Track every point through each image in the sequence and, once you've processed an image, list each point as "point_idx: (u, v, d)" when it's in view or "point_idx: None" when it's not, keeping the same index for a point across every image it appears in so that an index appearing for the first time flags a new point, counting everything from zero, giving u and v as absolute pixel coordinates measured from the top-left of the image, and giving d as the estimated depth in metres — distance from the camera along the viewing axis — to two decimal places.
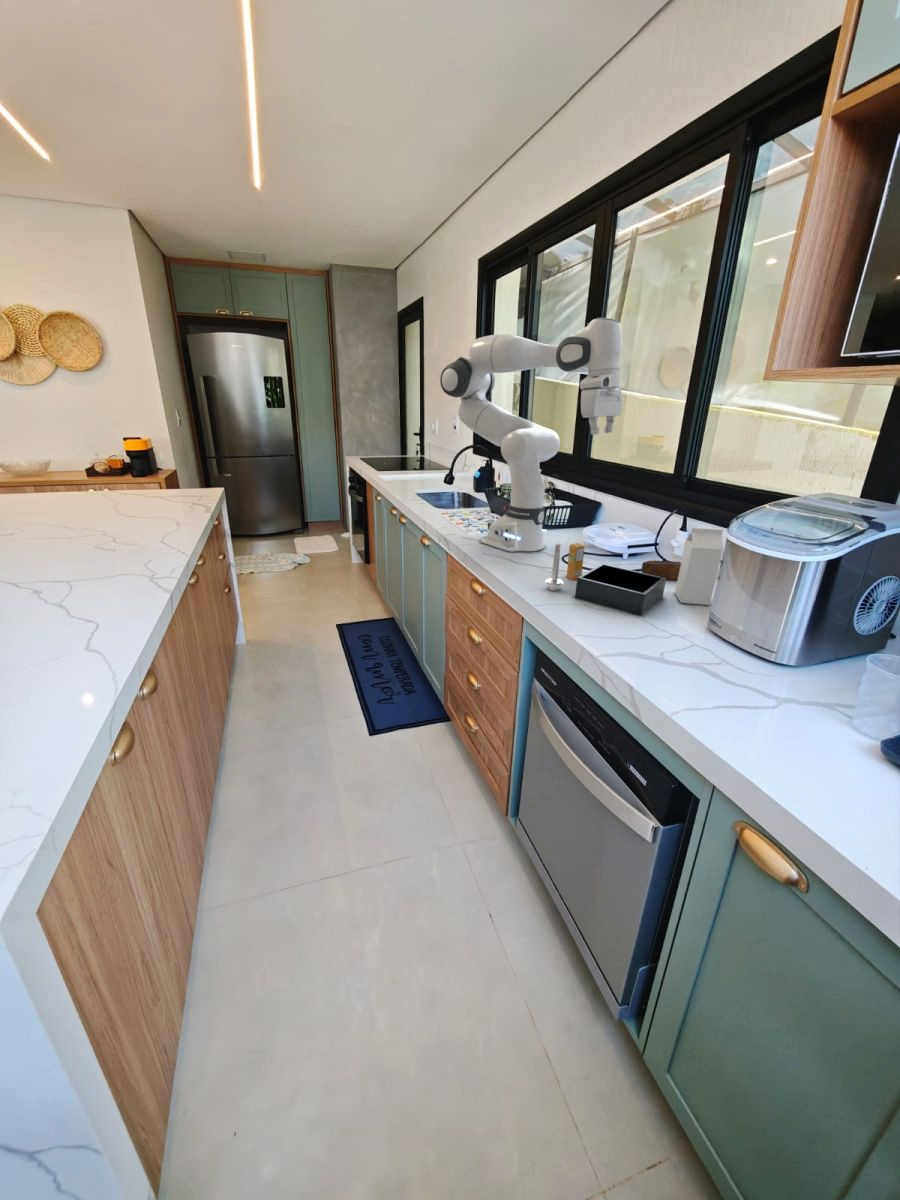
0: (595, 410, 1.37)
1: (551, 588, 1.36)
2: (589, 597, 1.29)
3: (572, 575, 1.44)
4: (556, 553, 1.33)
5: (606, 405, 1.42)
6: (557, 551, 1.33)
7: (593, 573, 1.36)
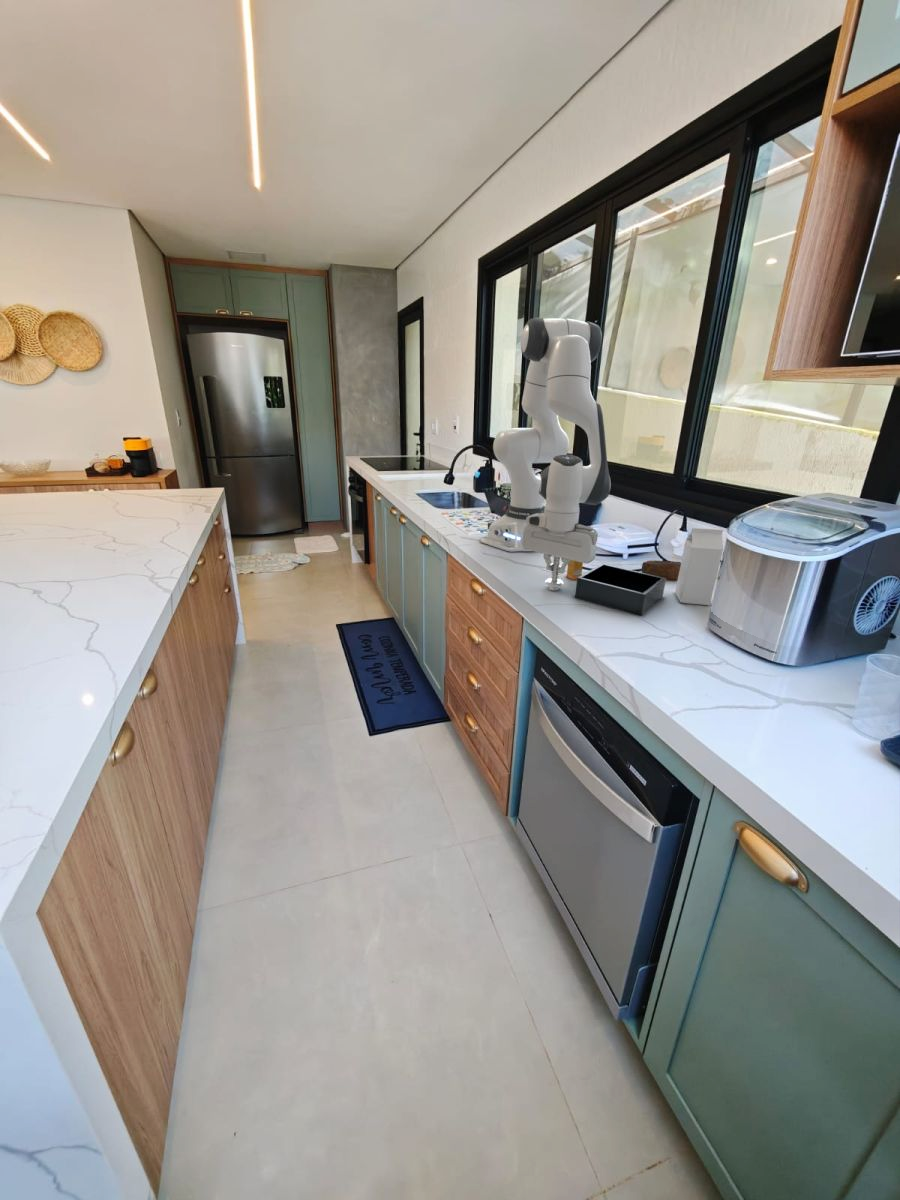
0: (524, 543, 1.37)
1: (551, 588, 1.36)
2: (589, 597, 1.29)
3: (572, 575, 1.44)
4: None
5: (549, 545, 1.32)
6: None
7: (593, 573, 1.36)
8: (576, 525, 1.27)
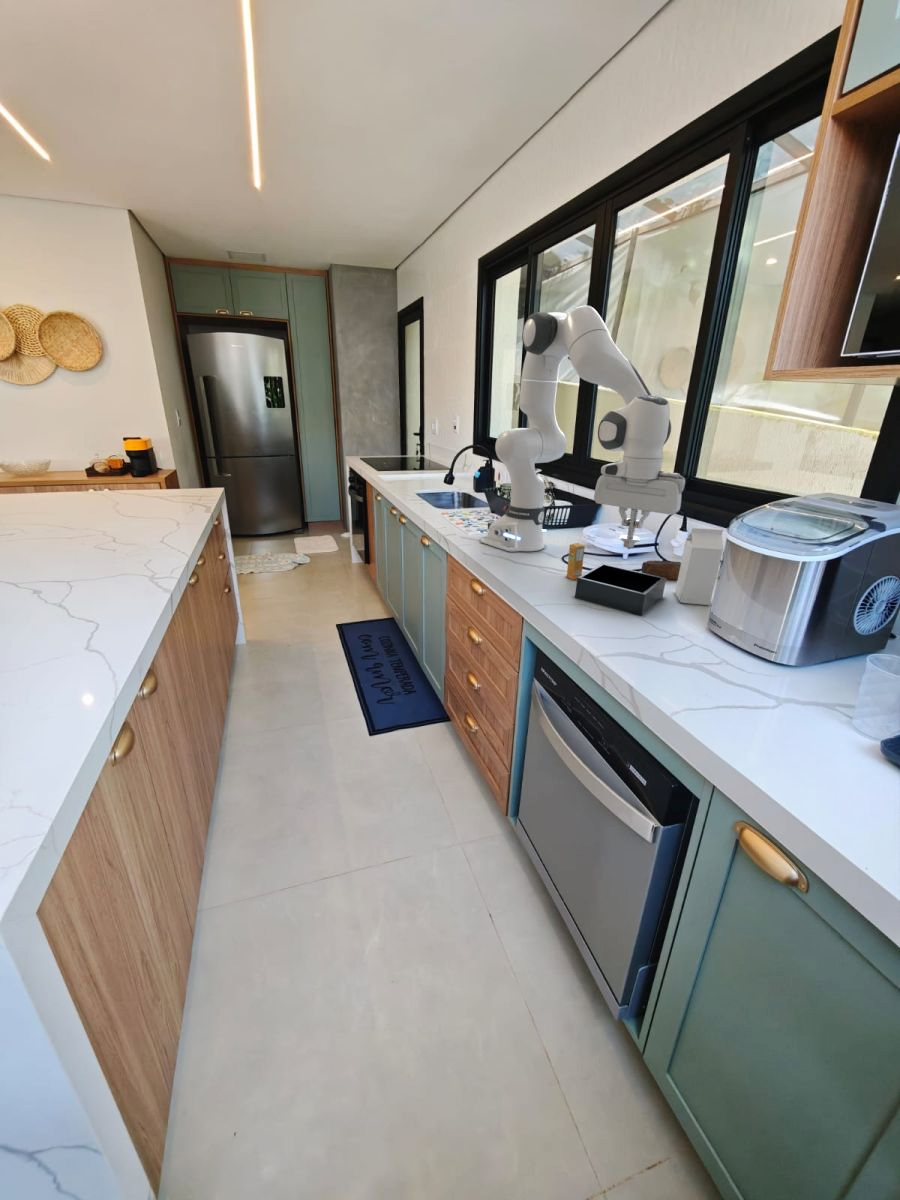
0: (597, 497, 1.26)
1: (626, 545, 1.25)
2: (589, 597, 1.29)
3: (572, 575, 1.44)
4: None
5: (627, 496, 1.21)
6: None
7: (593, 573, 1.36)
8: (660, 473, 1.16)
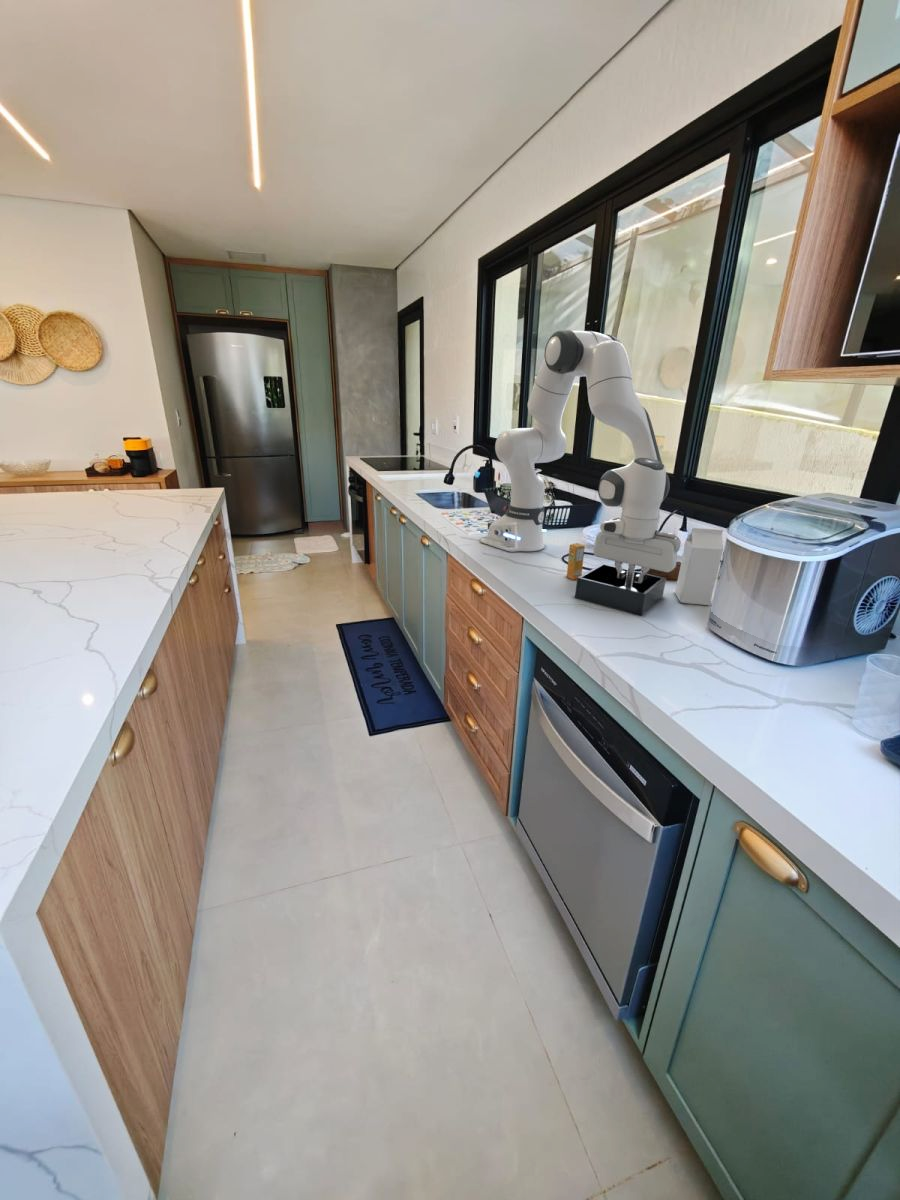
0: (596, 551, 1.30)
1: None
2: (589, 597, 1.29)
3: (572, 575, 1.44)
4: None
5: (625, 552, 1.26)
6: None
7: (593, 573, 1.36)
8: (656, 532, 1.21)
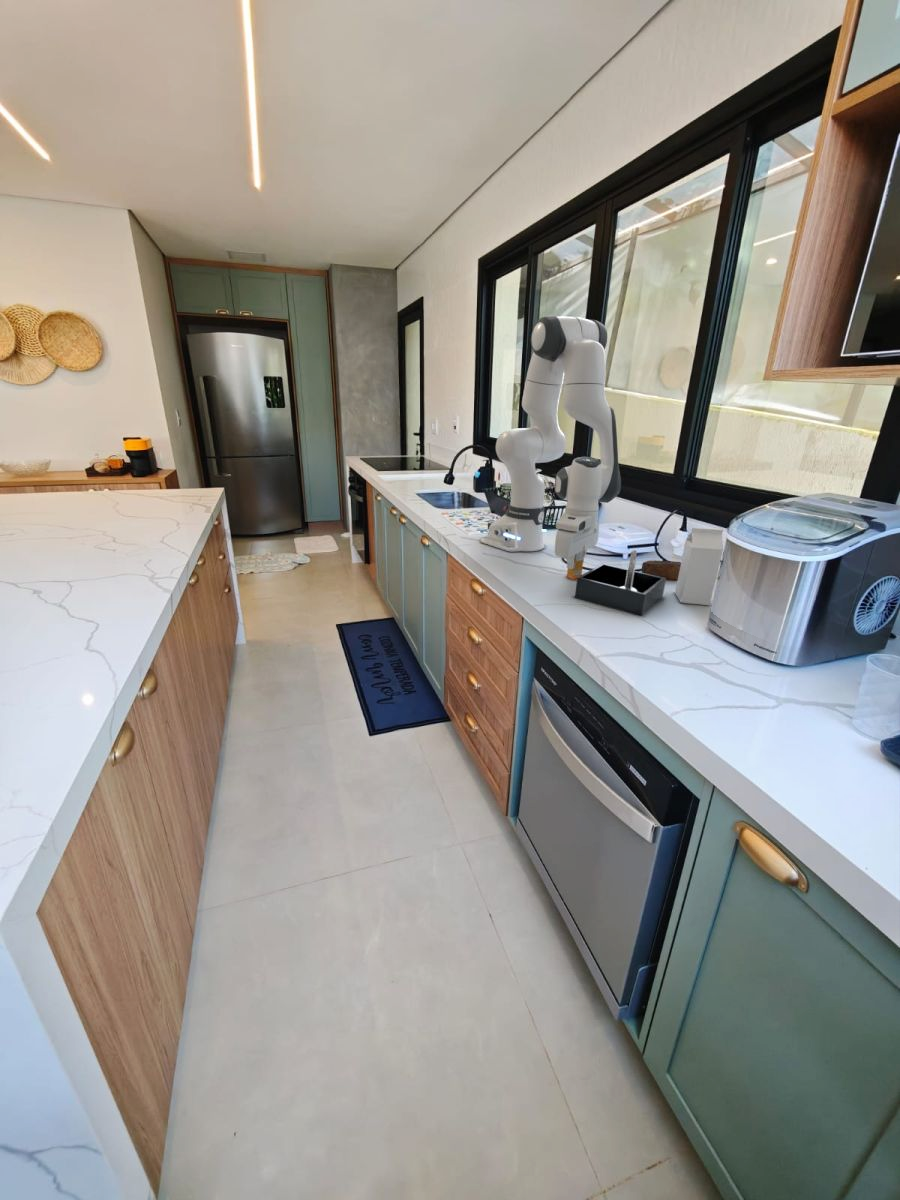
0: (569, 553, 1.35)
1: None
2: (589, 597, 1.29)
3: (572, 575, 1.44)
4: (632, 560, 1.26)
5: (581, 543, 1.40)
6: (633, 558, 1.26)
7: (593, 573, 1.36)
8: None
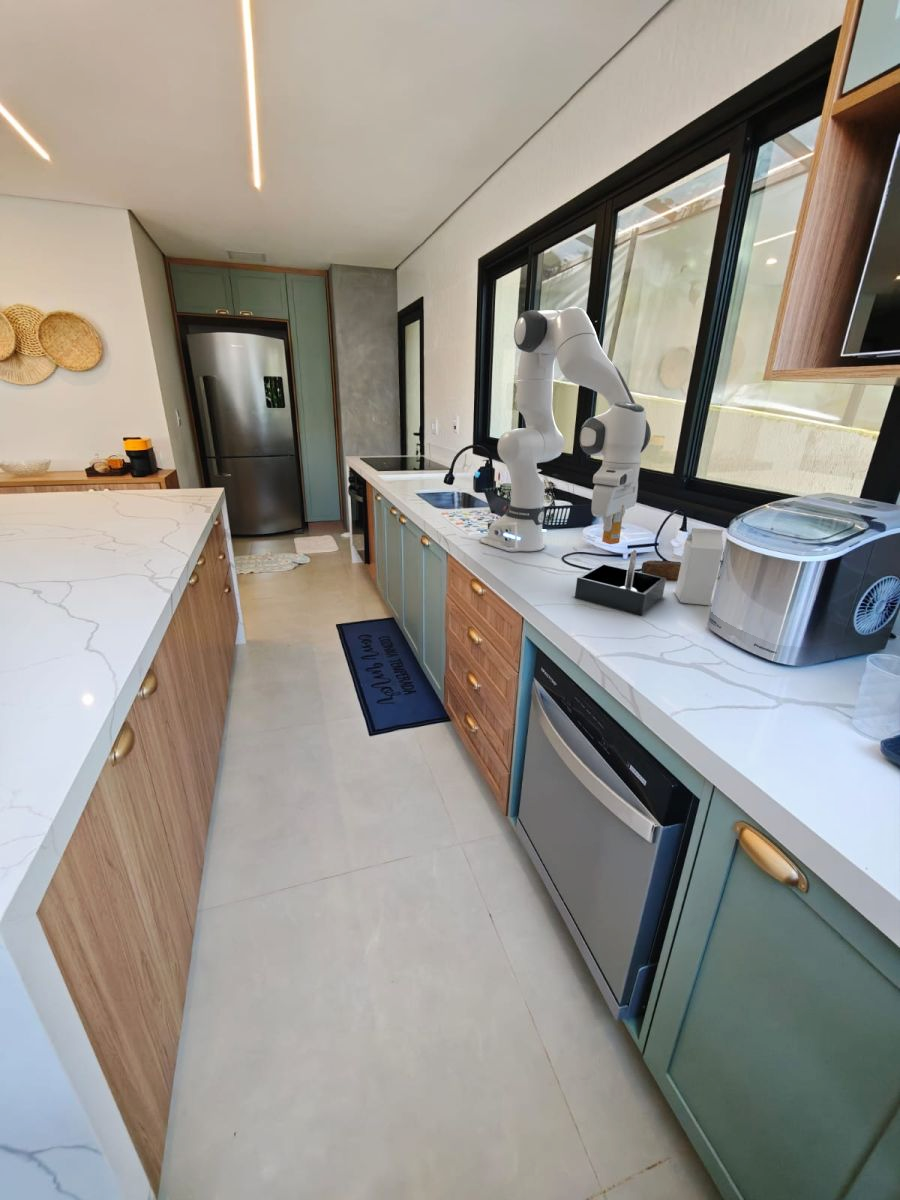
0: (608, 511, 1.19)
1: None
2: (589, 597, 1.29)
3: (609, 538, 1.28)
4: (632, 560, 1.26)
5: (620, 501, 1.24)
6: (633, 558, 1.26)
7: (593, 573, 1.36)
8: None
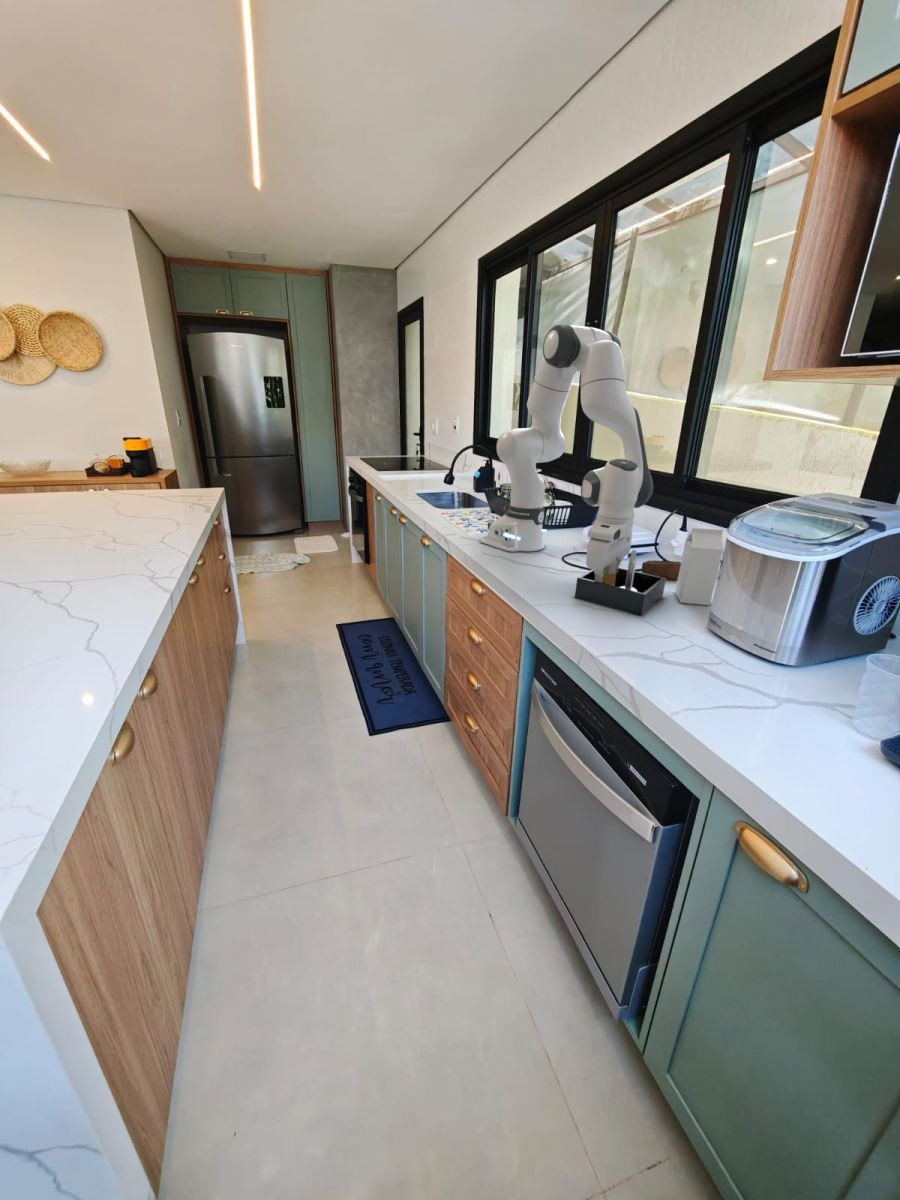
0: (602, 564, 1.23)
1: None
2: (589, 597, 1.29)
3: None
4: (632, 560, 1.26)
5: (614, 553, 1.28)
6: (633, 558, 1.26)
7: (593, 573, 1.36)
8: None
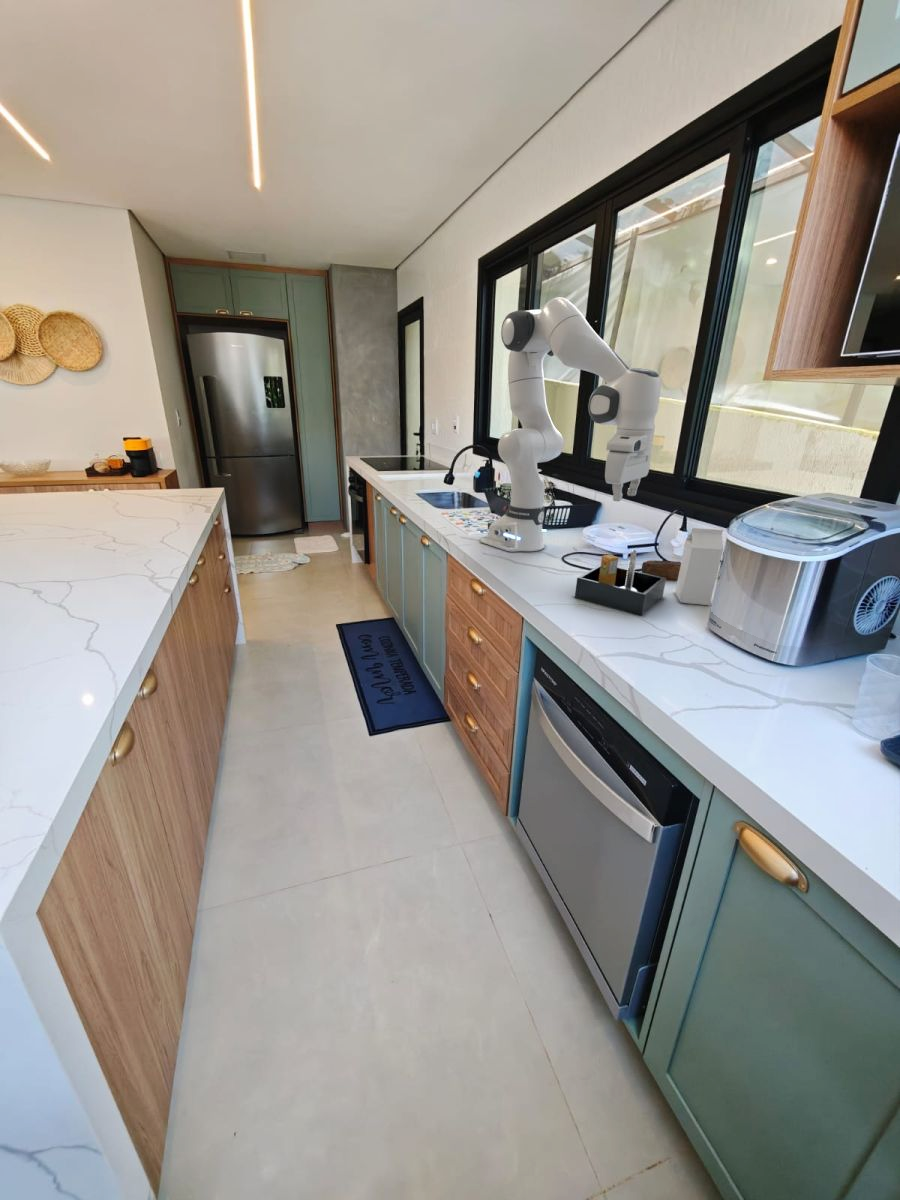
0: (621, 477, 1.18)
1: None
2: (589, 597, 1.29)
3: None
4: (632, 560, 1.26)
5: (633, 469, 1.23)
6: (633, 558, 1.26)
7: (593, 573, 1.36)
8: None
